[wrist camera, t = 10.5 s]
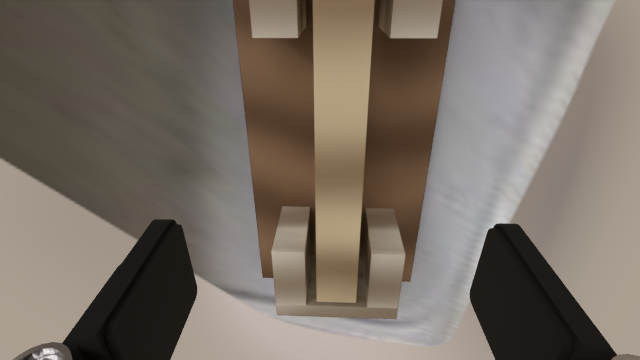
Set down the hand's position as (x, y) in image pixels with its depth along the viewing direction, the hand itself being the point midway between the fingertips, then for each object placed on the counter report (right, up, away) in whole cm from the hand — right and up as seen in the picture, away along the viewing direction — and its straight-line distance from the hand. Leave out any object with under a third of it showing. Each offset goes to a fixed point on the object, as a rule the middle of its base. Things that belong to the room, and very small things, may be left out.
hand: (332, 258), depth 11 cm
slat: (+1, +6, +12) cm, 13 cm away
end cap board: (+1, +6, +13) cm, 14 cm away
